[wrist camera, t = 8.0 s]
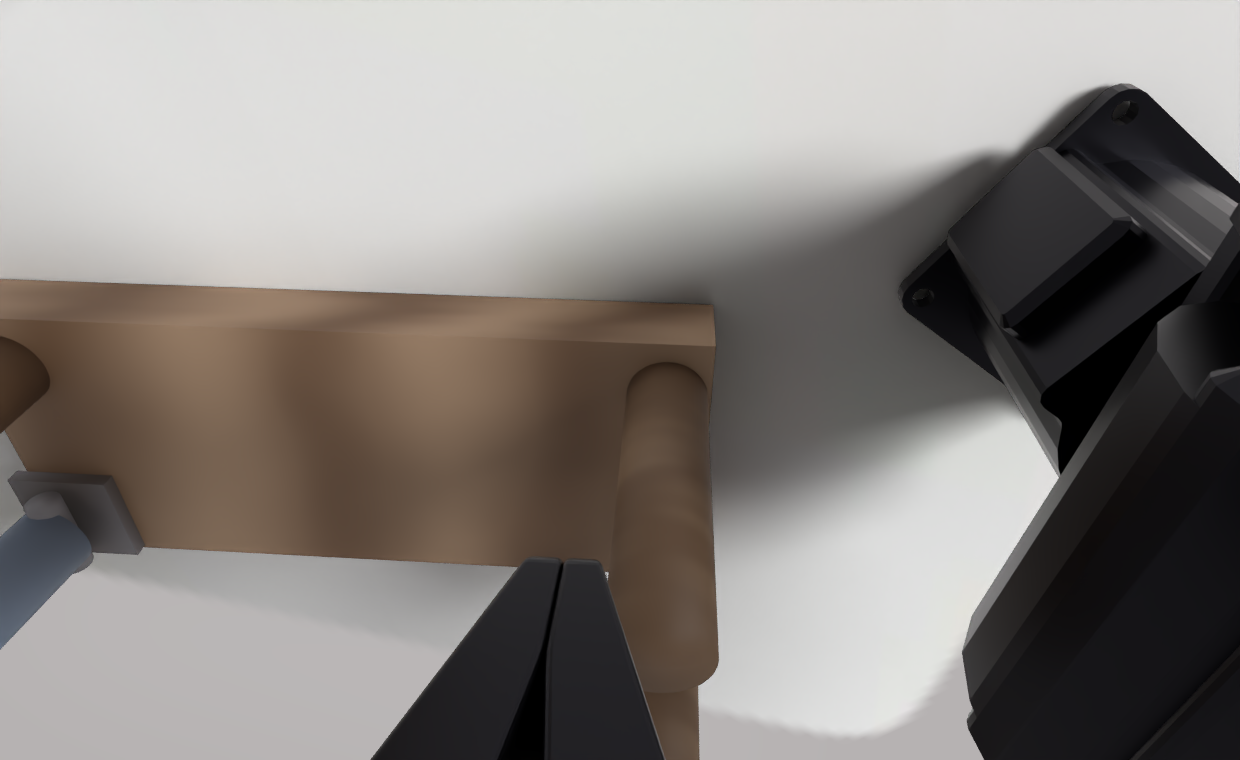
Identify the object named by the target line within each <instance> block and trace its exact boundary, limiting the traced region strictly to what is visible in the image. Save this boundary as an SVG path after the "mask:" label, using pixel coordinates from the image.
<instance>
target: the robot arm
mask: <svg viewBox="0 0 1240 760" xmlns="http://www.w3.org/2000/svg"><path fill="white" fill-rule="evenodd" d="M1124 101H1129V102H1130V105H1129V109H1128V111H1127V112H1126V113H1125V115H1123V116H1122V117H1120V118H1119V119H1114V120H1112V114H1113V111H1114V109H1115V108H1116V107H1117V105H1119V104H1121V103H1122V102H1124ZM920 289H929V290H930V292H929V293H928V295H927V296H926V297H924V298H922V299H913V298H912V297H913V295H914V294H915V292H917V291H919V290H920ZM898 294H899V299H900V301H901V303H902V306H903V308H904V309H905V310H906V311H907V312H908V313H909V314H910V315H912V316H913V317H914V318H916V319H917V320H919V321H920V322H921V323H923V324H924V325H925V326H927V327H928V328H929V329H931V330H932V331H933V332H935V333H936V334H937V335H939V336H940V337H941V338H943V339H944V340H945V341H947V342H948V343H949V344H951V345H952V346H954V347H955V348H956V349H958V350H959V351H960V352H962V353H963V354H964V355H966V356H967V357H968V358H970V359H971V360H972V361H974V362H975V363H976V364H978V365H979V366H980V367H982V368H983V369H984V370H986V371H987V372H988V373H990V374H991V375H993V376H994V377H995V378H997V379H998V380H999V381H1001V382H1002V383H1003V384H1005V385H1006V387H1007V389H1008V391H1009V392H1010V394H1011V396H1012V398H1013V399H1014V401H1015V403H1016V404H1017V406H1018V408H1019V410H1020V411H1021V413H1022V415H1023V417H1024V418H1025V420H1026V422H1027V423H1028V425H1029V427H1030V429H1031V430H1032V432H1033V434H1034V436H1035V437H1036V439H1037V441H1038V442H1039V444H1040V446H1041V448H1042V449H1043V451H1044V453H1045V455H1046V456H1047V458H1048V460H1049V461H1050V463H1051V465H1052V467H1053V468H1054V470H1055V472H1056V474H1057V475H1058V477H1059V479H1058V480H1057V482H1056V484H1055V485H1054V487H1053V488H1052V490H1051V491H1050V493H1049V495H1048V496H1047V498H1046V499H1045V501H1044V503H1043V504H1042V506H1041V507H1040V509H1039V510H1038V512H1037V514H1036V515H1035V517H1034V518H1033V520H1032V522H1031V523H1030V525H1029V526H1028V528H1027V529H1026V531H1025V533H1024V534H1023V536H1022V537H1021V539H1020V541H1019V542H1018V544H1017V545H1016V547H1015V548H1014V550H1013V552H1012V553H1011V555H1010V556H1009V558H1008V560H1007V561H1006V563H1005V564H1004V566H1003V567H1002V569H1001V571H1000V572H999V574H998V575H997V577H996V579H995V580H994V582H993V583H992V585H991V586H990V588H989V590H988V591H987V593H986V594H985V596H984V597H983V599H982V601H981V602H980V604H979V605H978V607H977V609H976V610H975V612H974V613H973V615H972V617H971V621H970V625H969V628H968V632H967V636H966V639H965V643H964V647H963V650H962V655H963V662H964V668H965V674H966V680H967V686H968V693H969V699H970V702H971V705H972V707H973V709H972V710H971V712H970V713H969V715H968V718H967V725H968V729H969V731H970V733H971V735H972V737H973V739H974V741H975V743H976V745H977V747H978V749H979V750H980V752H981V754H982V756H983V758H984V760H1240V183H1239V182H1238V181H1237V180H1236V179H1235V178H1234V177H1233V176H1232V175H1231V174H1230V173H1229V172H1228V171H1227V170H1226V169H1224V168H1223V167H1222V166H1221V165H1220V164H1219V163H1218V162H1217V161H1216V160H1215V159H1214V158H1213V157H1212V156H1211V155H1210V154H1209V153H1208V152H1207V151H1206V150H1205V149H1204V148H1203V147H1202V146H1201V145H1200V144H1199V143H1198V142H1197V141H1196V140H1195V139H1194V138H1193V137H1192V136H1190V135H1189V134H1188V133H1187V132H1186V131H1185V130H1184V129H1183V128H1182V127H1181V126H1180V125H1179V124H1178V123H1177V122H1176V121H1175V120H1174V119H1173V118H1172V117H1171V116H1170V115H1169V114H1168V113H1167V112H1166V111H1165V110H1164V109H1163V108H1162V107H1161V106H1160V105H1159V104H1158V103H1157V102H1155V101H1154V100H1153V99H1152V98H1151V97H1150V96H1149V95H1148V94H1147V93H1146V92H1144V91H1142V90H1140V89H1139V88H1137V87H1135V86H1133V85H1131V84H1118V85H1115V86H1112V87H1110V88H1108V89H1107V90H1105V91H1104V92H1103V93H1101V94H1100V95H1099V96H1098V97H1097V98H1096V99H1095V100H1094V101H1093V102H1092V103H1091V104H1090V105H1089V106H1088V107H1086V108H1085V109H1084V110H1083V111H1082V112H1081V113H1080V114H1079V115H1078V116H1077V117H1076V118H1075V119H1074V120H1073V121H1072V122H1071V123H1070V124H1069V125H1067V126H1066V127H1065V128H1064V129H1063V130H1062V131H1061V132H1060V133H1059V134H1058V135H1057V136H1056V137H1055V138H1054V139H1053V140H1052V141H1051V142H1049V143H1048V144H1047V145H1046V146H1045V147H1044V148H1039V149H1035V150H1033V151H1032V152H1031V153H1030V154H1029V155H1028V156H1027V157H1025V158H1024V159H1023V160H1022V161H1021V162H1020V163H1019V164H1018V165H1017V166H1016V167H1015V168H1014V169H1013V170H1012V171H1011V172H1010V173H1009V174H1008V175H1007V176H1005V177H1004V178H1003V179H1002V180H1001V181H1000V182H999V183H998V184H997V185H996V186H995V187H994V188H993V189H992V190H991V191H990V192H989V193H988V194H987V195H985V196H984V197H983V198H982V199H981V200H980V201H979V202H978V203H977V204H976V205H975V206H974V207H973V208H972V209H971V210H970V211H969V212H968V213H967V214H966V215H964V216H963V217H962V218H961V219H960V220H959V221H958V222H957V223H956V224H955V225H954V226H953V227H952V228H951V229H950V230H949V232H948V239H947V240H946V241H945V242H944V243H943V244H942V245H940V246H939V247H938V248H937V249H936V250H935V251H934V252H933V253H932V254H931V255H930V256H929V257H928V258H927V259H926V260H925V261H924V262H922V263H921V264H920V265H919V266H918V267H917V268H916V269H915V270H914V271H913V272H912V273H911V274H910V275H909V276H908V277H907V278H906V279H905V280H904V281H903V282H902V284H901V285H900V287H899V291H898ZM371 760H666V759H665V756H664V753H663V750H662V747H661V744H660V741H659V738H658V735H657V732H656V729H655V726H654V723H653V720H652V716H651V713H650V710H649V707H648V704H647V701H646V698H645V695H644V692H643V689H642V686H641V683H640V680H639V677H638V673H637V670H636V667H635V664H634V661H633V658H632V655H631V652H630V649H629V646H628V643H627V640H626V637H625V634H624V630H623V627H622V624H621V621H620V618H619V615H618V612H617V609H616V606H615V603H614V600H613V597H612V594H611V591H610V587H609V584H608V581H607V578H606V575H605V572H604V569H603V566H602V564H601V563H600V561H598V560H596V559H579V558H569V559H567V560H565V562H564V563H563V561H562V560H561V559H560V558H557V557H539V556H531V557H528V558H526V559H525V560H524V561H523V562H522V563H521V564H520V566H519V567H518V568H517V569H516V571H515V572H514V573H513V575H512V576H511V577H510V579H509V580H508V581H507V583H506V584H505V585H504V586H503V588H502V589H501V590H500V592H499V593H498V594H497V596H496V597H495V598H494V599H493V601H492V602H491V603H490V605H489V606H488V607H487V609H486V610H485V611H484V612H483V614H482V615H481V616H480V618H479V619H478V620H477V622H476V623H475V624H474V626H473V627H472V628H471V629H470V631H469V632H468V633H467V635H466V636H465V637H464V639H463V640H462V641H461V642H460V644H459V645H458V646H457V648H456V649H455V650H454V652H453V653H452V654H451V656H450V657H449V658H448V659H447V661H446V662H445V663H444V665H443V666H442V667H441V669H440V670H439V671H438V672H437V674H436V675H435V676H434V678H433V679H432V680H431V682H430V683H429V684H428V686H427V687H426V688H425V689H424V691H423V692H422V693H421V695H420V696H419V697H418V699H417V700H416V701H415V702H414V704H413V705H412V706H411V708H410V709H409V710H408V712H407V713H406V714H405V715H404V717H403V718H402V719H401V721H400V722H399V723H398V725H397V726H396V727H395V729H394V730H393V731H392V732H391V734H390V735H389V736H388V738H387V739H386V740H385V742H384V743H383V744H382V746H381V747H380V748H379V749H378V751H377V752H376V753H375V755H374V756H373V757H372V758H371Z"/></svg>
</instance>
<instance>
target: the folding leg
mask: <svg viewBox="0 0 1240 760" xmlns="http://www.w3.org/2000/svg"><path fill="white" fill-rule="evenodd" d="M23 509H24V512H25V513H26V514H25V515H24V516H23V517H22V518H20V519H19V520H18V521H17V522H16V523H15V524H14V525H13V526H12V527H10V528H9V529H8V530H7V531H6V532H5V533H4V534H3V535H2V536H1V537H0V649H1V648H2V647H3V646H4V645H5V644H6V643H7V642H8V641H9V640H10V639H11V638H12V637H13V636H14V635H15V634H16V632H17V631H18V630H19V629H20V628H21V627H22V626H23V625H24V624H25V623H26V622H27V621H28V620H29V619H30V618H31V617H32V616H33V615H34V613H36V612H37V610H38V609H39V608H40V607H41V606H42V605H43V604H44V603H45V602H46V601H47V600H48V599H49V598H50V597H51V596H52V595H53V593H55V592H56V591H57V589H58V588H59V587H60V586H61V585H62V584H63V583H64V582H65V581H66V580H67V579H68V578H69V577H70V576H71V575H72V574H74V573H77V572H80V571H82V570H84V569H85V568H87V567H88V566H89V565H90V564H91V563H92V561H93V558H94V556H93V554H92V552H91V550H92V549H91V544H90V542H89V540H88V538H87V537H86V535H85V534H84V533H83V532H82V531H81V530H80V529H79V528H78V526H77V524H76V522H75V520H74V518H73V516H72V515H71V513H70V511H69V509H68V507H67V505H66V503H65V502H64V500H63V498H62V496H61V494H60V493H58V492H54V491H50V492H44V493H41V494H38V495H36V496H34V497H32V498H31V499H29V500H28V501H27V502H26V503H25V505H24V507H23Z"/></svg>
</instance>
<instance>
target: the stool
mask: <svg viewBox="0 0 1240 760" xmlns="http://www.w3.org/2000/svg"><path fill="white" fill-rule="evenodd" d="M715 350H716V341H715V325H714V309H713V305H704V304H676V303H648V302H620V301H593V300H565V299H537V298H509V297H481V296H453V295H426V294H398V293H370V292H342V291H314V290H286V289H258V288H231V287H203V286H175V285H147V284H119V283H91V282H64V281H36V280H8V279H0V433H2V432H3V431H4V430H5V432H6V434H7V435H8V437H9V439H10V441H11V443H12V444H13V446H14V448H15V450H16V452H17V453H18V455H19V457H20V459H21V461H22V462H23V464H24V466H25V468H26V470H27V471H17V472H16V473H15V474H14V475H13V476H12V477H11V478H10V479H8V482H9V484H10V485H11V487H12V489H13V490H14V492H15V494H16V496H17V497H18V499H19V501H20V503H21V504H22V506H23V507H24V505H25V503H26V502H27V501H28V500H29V499H31V498H32V497H34V496H36V495H38V494H41V493H44V492H50V491H54V492H58V493H60V494H61V496H62V498H63V500H64V502H65V503H66V505H67V507H68V509H69V511H70V513H71V515H72V516H73V518H74V520H75V522H76V524H77V526H78V528H79V529H80V530H81V531H82V532H83V533H84V534H85V535H86V537H87V538H88V540H89V542H90V544H91V549H92V550H91V552H96V553H115V554H133V555H138V554H139V552H140V551H141V550H142V548H143V547H152V548H171V549H190V550H208V551H227V552H246V553H265V554H283V555H302V556H321V557H340V558H358V559H377V560H396V561H415V562H433V563H452V564H471V565H490V566H509V567H519V566H520V564H521V563H522V562H523V561H524V560H525V559H526V558H528V557H531V556H539V557H557V558H560V559H561V560H562V561H563V563H564V562H565V560H567V559H569V558H579V559H596V560H598V561H600V563H601V564H602V566H603V569H604V572H609V576H608V584H609V587H610V591H611V594H612V597H613V600H614V603H615V606H616V609H617V612H618V615H619V618H620V621H621V624H622V627H623V630H624V634H625V637H626V640H627V643H628V646H629V649H630V652H631V655H632V658H633V661H634V664H635V667H636V670H637V673H638V677H639V680H640V683H641V686H642V689H643V692H644V695H645V698H646V701H647V704H648V707H649V710H650V713H651V716H652V720H653V723H654V726H655V729H656V732H657V735H658V738H659V741H660V744H661V747H662V750H663V753H664V756H665V759H666V760H699V711H698V685H700V684H702V683H704V682H705V681H706V680H708V679H709V678H710V677H711V676H712V675H713V673H714V672H715V670H716V668H717V666H718V662H719V652H718V629H717V606H716V582H715V559H714V536H713V513H712V489H711V466H710V443H709V420H710V408H711V397H712V385H713V374H714V362H715Z"/></svg>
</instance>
